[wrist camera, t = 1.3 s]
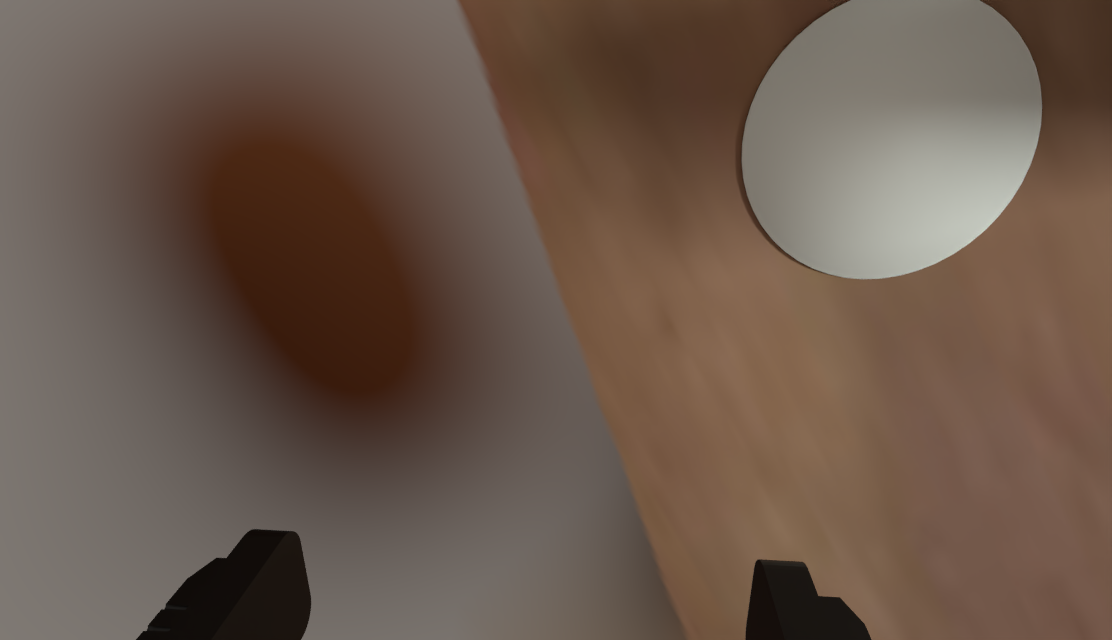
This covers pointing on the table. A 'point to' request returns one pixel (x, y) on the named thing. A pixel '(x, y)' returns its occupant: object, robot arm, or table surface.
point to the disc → (891, 134)
